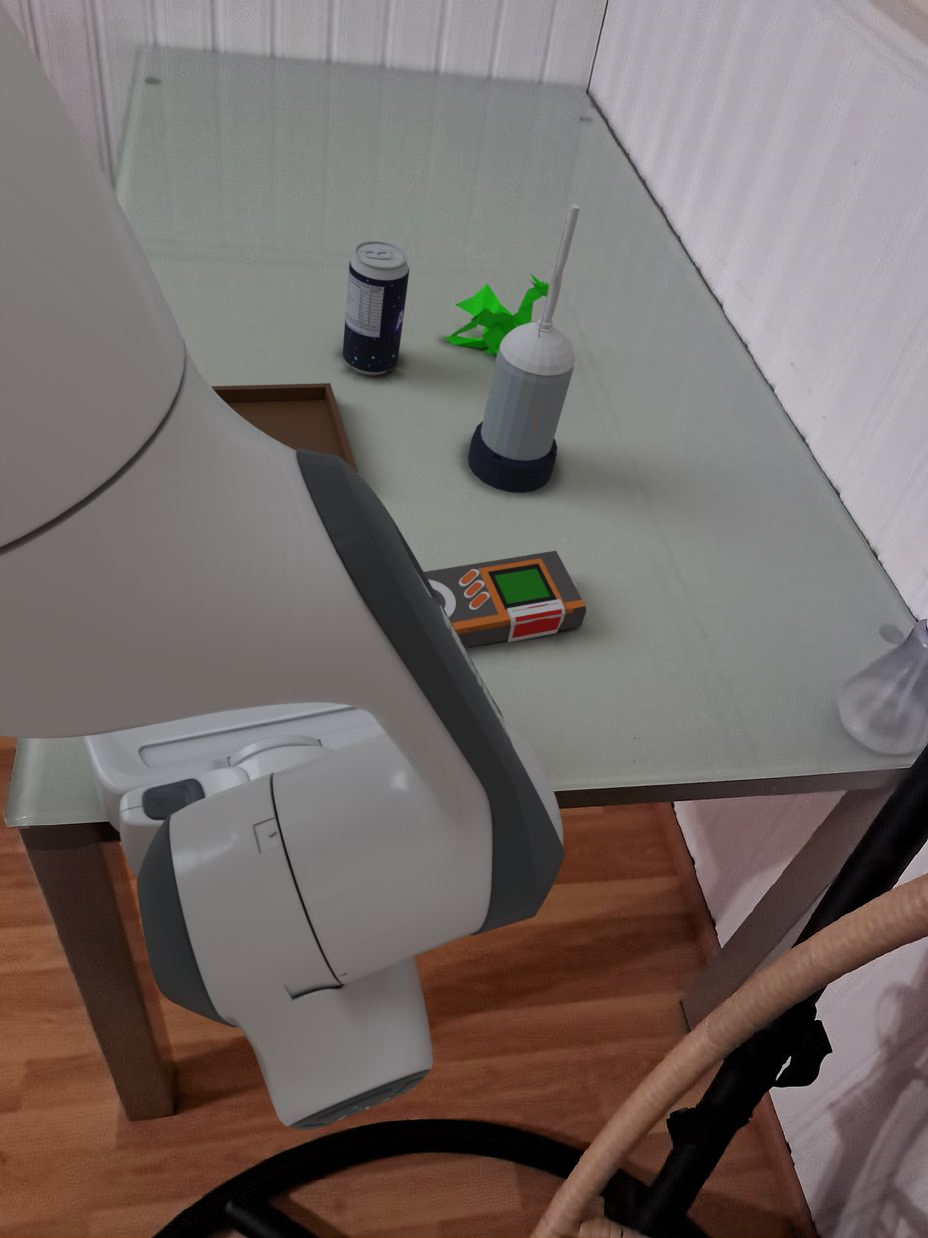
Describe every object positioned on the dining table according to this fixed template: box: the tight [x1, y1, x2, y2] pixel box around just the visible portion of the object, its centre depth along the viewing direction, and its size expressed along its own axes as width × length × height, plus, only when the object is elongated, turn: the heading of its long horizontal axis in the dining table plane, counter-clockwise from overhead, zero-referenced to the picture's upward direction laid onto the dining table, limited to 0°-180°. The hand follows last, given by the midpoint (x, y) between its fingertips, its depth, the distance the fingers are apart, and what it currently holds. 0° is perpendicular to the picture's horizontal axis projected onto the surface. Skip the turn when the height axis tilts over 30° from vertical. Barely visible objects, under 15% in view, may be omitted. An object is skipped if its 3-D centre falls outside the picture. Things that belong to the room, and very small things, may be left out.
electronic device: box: [424, 550, 587, 649], centre depth 76 cm, size 7×3×15 cm
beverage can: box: [342, 240, 410, 376], centre depth 94 cm, size 6×6×12 cm
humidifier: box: [467, 203, 581, 494], centre depth 81 cm, size 8×8×25 cm
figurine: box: [444, 272, 550, 356], centre depth 100 cm, size 6×12×9 cm, turn 86°
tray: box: [210, 382, 359, 474], centre depth 85 cm, size 17×13×2 cm
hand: (238, 632), depth 62 cm, fingers closed on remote, 3 cm apart
